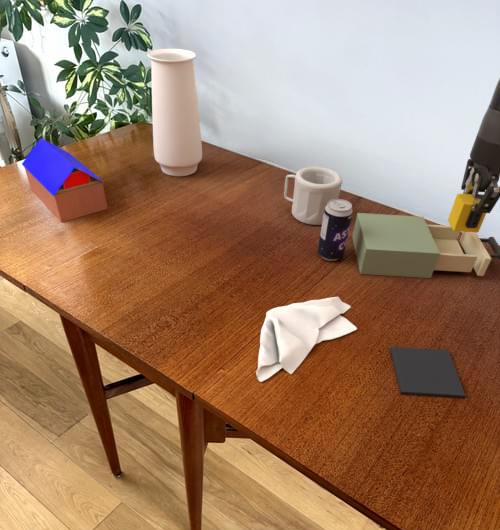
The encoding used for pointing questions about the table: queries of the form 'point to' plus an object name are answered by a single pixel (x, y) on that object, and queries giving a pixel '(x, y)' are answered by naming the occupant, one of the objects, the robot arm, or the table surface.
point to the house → (63, 182)
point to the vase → (175, 111)
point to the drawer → (454, 256)
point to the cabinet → (394, 245)
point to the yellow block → (463, 213)
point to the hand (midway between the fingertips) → (466, 220)
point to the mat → (426, 372)
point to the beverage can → (335, 229)
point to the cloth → (298, 333)
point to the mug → (313, 193)
